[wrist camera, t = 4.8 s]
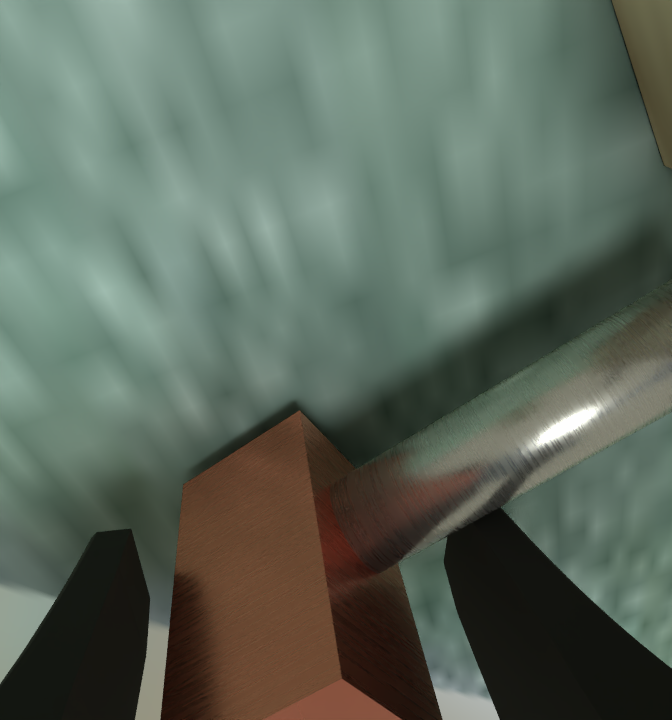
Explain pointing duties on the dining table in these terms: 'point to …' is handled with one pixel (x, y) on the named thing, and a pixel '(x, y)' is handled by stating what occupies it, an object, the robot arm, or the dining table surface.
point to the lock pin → (378, 531)
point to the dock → (651, 61)
